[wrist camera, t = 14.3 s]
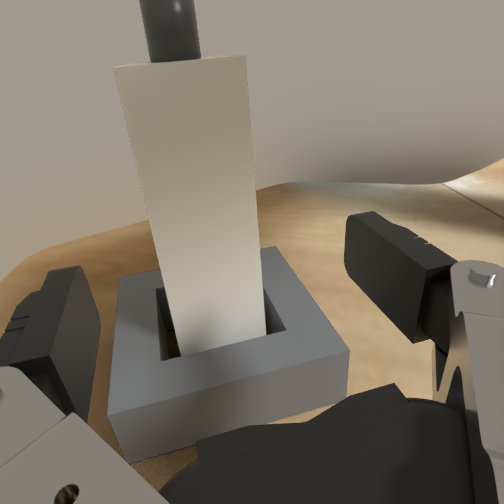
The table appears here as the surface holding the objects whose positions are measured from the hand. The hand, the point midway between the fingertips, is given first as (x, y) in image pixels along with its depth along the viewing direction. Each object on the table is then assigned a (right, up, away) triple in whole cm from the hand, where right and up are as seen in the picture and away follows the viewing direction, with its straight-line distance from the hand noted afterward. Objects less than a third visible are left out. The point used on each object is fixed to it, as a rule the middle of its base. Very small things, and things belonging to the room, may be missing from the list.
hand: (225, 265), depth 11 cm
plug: (-1, -6, +11) cm, 13 cm away
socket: (-1, -6, +11) cm, 13 cm away
